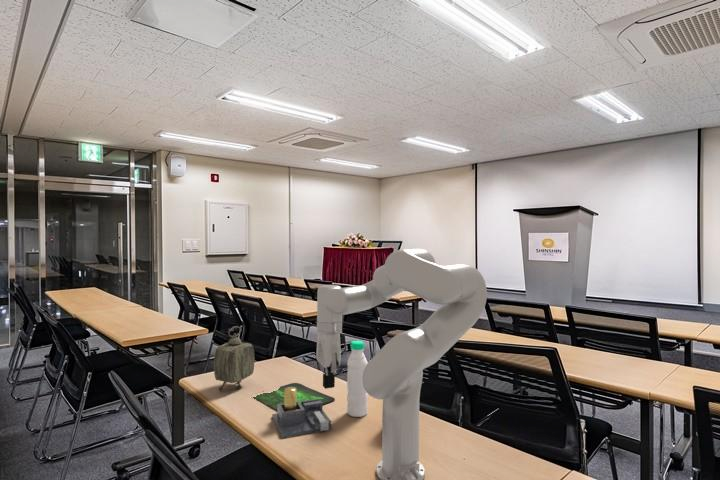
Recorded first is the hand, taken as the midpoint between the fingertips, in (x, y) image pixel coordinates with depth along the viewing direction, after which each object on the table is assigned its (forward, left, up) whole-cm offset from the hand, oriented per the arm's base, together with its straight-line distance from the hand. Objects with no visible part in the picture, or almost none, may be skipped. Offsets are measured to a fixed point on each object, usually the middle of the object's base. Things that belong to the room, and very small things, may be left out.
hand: (328, 386), depth 125 cm
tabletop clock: (+56, +22, -17) cm, 62 cm away
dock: (+15, +5, -16) cm, 23 cm away
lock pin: (+9, 0, -15) cm, 18 cm away
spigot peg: (+17, +8, -15) cm, 24 cm away
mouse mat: (+37, +3, -17) cm, 41 cm away
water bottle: (+15, -15, -17) cm, 27 cm away
